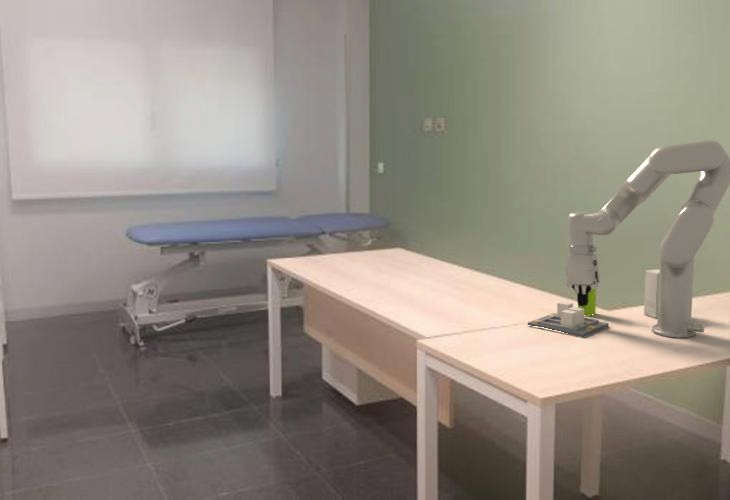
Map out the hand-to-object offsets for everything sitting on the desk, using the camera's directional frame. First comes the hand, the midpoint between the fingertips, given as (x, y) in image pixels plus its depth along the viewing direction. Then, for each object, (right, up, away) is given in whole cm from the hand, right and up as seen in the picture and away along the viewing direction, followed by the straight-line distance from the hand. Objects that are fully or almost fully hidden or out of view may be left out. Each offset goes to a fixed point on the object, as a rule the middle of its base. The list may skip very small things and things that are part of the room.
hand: (582, 305), depth 224 cm
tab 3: (-3, -6, -3) cm, 7 cm away
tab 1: (-4, -5, +5) cm, 8 cm away
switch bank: (-5, -7, -1) cm, 9 cm away
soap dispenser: (+6, -4, +14) cm, 16 cm away
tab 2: (-6, -6, -6) cm, 11 cm away
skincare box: (+29, -5, +9) cm, 31 cm away
